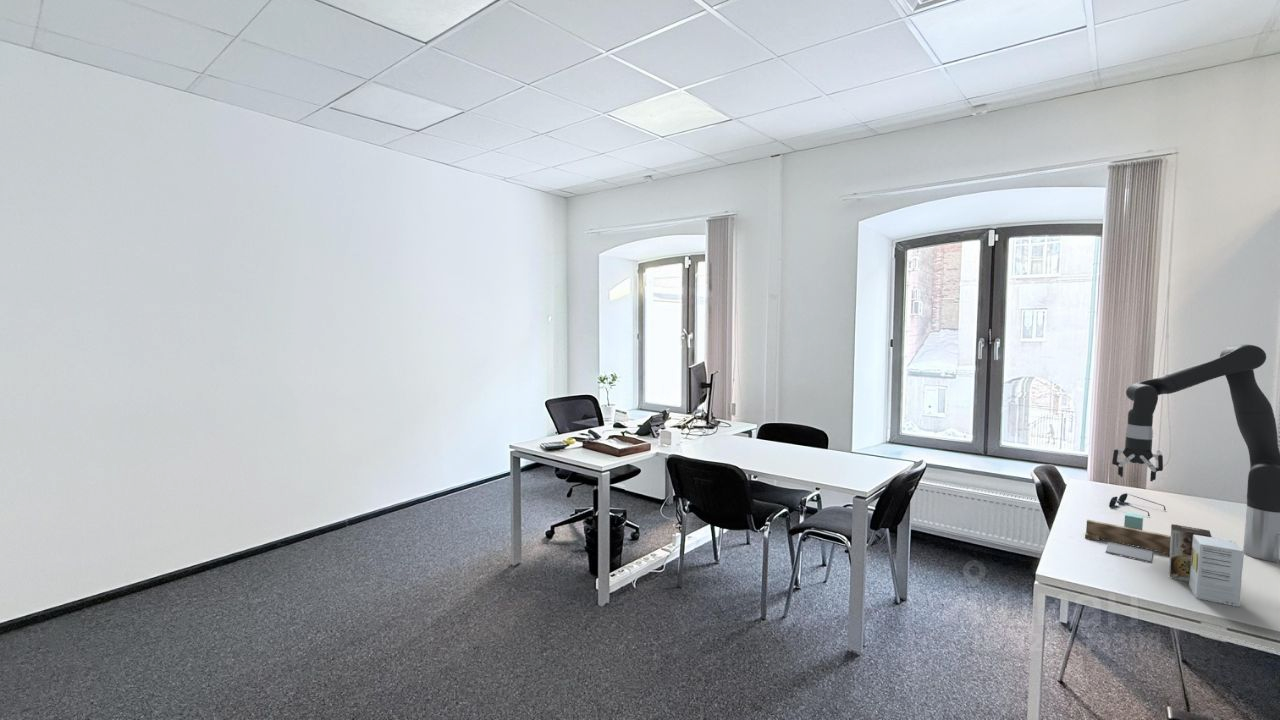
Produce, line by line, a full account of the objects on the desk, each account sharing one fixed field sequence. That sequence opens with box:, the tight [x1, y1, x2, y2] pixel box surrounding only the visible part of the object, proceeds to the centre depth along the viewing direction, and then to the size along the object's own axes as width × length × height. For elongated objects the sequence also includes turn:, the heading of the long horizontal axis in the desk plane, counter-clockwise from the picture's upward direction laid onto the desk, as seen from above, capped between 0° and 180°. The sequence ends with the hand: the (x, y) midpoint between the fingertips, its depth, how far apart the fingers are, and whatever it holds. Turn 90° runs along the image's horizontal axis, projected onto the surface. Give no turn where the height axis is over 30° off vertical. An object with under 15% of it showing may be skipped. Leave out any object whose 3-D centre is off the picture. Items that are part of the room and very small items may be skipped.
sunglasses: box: [1108, 492, 1167, 517], centre depth 244 cm, size 17×15×5 cm
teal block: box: [1123, 511, 1144, 530], centre depth 210 cm, size 5×5×9 cm
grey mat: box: [1105, 541, 1154, 563], centre depth 197 cm, size 12×12×1 cm
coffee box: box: [1168, 523, 1213, 582], centre depth 177 cm, size 9×6×16 cm
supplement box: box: [1188, 535, 1245, 608], centre depth 165 cm, size 10×9×17 cm
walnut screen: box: [1084, 519, 1171, 557], centre depth 204 cm, size 26×8×6 cm, turn 45°
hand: (1136, 478), depth 209 cm, fingers open, 8 cm apart
